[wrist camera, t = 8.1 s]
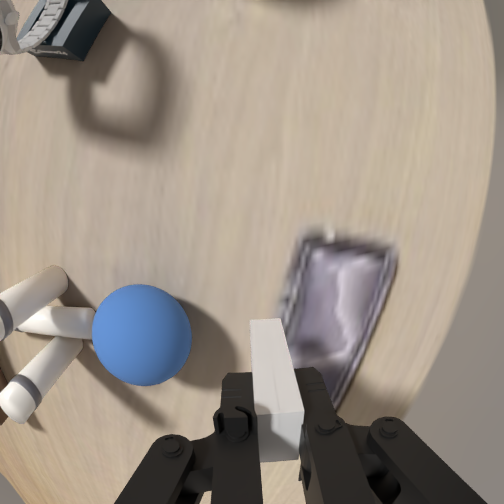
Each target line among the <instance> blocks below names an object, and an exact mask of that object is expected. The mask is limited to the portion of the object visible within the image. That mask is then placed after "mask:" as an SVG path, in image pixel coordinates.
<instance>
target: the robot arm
mask: <svg viewBox="0 0 504 504" xmlns="http://www.w3.org/2000/svg"><path fill="white" fill-rule="evenodd" d="M250 343H251V368H252V372H245V373H228V374H227V375H226V376H225V378H224V379H223V381H222V392H221V405H220V408H219V409H218V410H217V411H216V412H215V414H214V416H213V421H214V427H215V432H214V433H213V434H211V435H210V436H208V437H205V438H202V439H198V440H193V441H189V440H188V439H187V438H186V437H183V436H181V435H175V434H170V435H164V436H162V437H160V438H158V439H157V440H156V441H155V442H154V443H153V444H152V446H151V447H150V449H149V451H148V452H147V454H146V455H145V457H144V458H143V460H142V461H141V463H140V465H139V466H138V468H137V469H136V471H135V472H134V474H133V475H132V477H131V478H130V480H129V482H128V483H127V485H126V486H125V488H124V489H123V491H122V492H121V494H120V495H119V497H118V498H117V500H116V501H115V503H114V504H199V503H200V501H201V499H202V496H203V494H204V492H206V491H211V490H212V493H211V504H263V496H262V483H261V470H260V462H276V461H287V460H297V459H298V458H299V454H300V459H301V466H300V472H299V480H298V481H301V480H302V484H303V489H304V495H305V500H306V504H487V503H486V502H485V501H484V500H483V499H482V498H481V497H480V496H479V495H478V494H477V493H476V492H475V491H474V490H473V489H472V488H471V487H470V486H469V485H467V483H465V482H464V481H463V480H462V479H461V478H460V477H459V476H458V475H457V474H456V473H455V472H454V471H453V470H452V469H451V468H450V467H449V466H448V465H447V464H446V463H445V462H444V461H443V460H442V459H441V458H440V457H439V456H438V455H437V454H436V453H435V452H434V451H433V450H432V449H430V447H428V446H427V445H426V444H425V443H424V442H423V441H422V440H421V439H420V438H419V437H418V436H417V435H416V434H415V433H414V432H413V431H412V430H411V429H410V428H409V427H408V426H407V425H406V424H405V423H404V422H403V421H401V420H400V419H398V418H394V417H382V418H378V419H377V420H375V421H374V422H373V423H372V425H371V426H354V425H350V424H347V423H345V422H344V420H343V419H342V418H340V417H339V416H337V415H336V413H335V410H334V407H333V405H332V402H331V399H330V397H329V394H328V391H327V390H326V386H325V384H324V381H323V378H322V376H321V374H320V373H319V372H318V371H317V370H316V369H315V368H314V367H310V368H299V369H293V365H292V361H291V357H290V353H289V350H288V346H287V342H286V338H285V334H284V331H283V327H282V323H281V319H280V318H277V319H256V320H250Z"/></svg>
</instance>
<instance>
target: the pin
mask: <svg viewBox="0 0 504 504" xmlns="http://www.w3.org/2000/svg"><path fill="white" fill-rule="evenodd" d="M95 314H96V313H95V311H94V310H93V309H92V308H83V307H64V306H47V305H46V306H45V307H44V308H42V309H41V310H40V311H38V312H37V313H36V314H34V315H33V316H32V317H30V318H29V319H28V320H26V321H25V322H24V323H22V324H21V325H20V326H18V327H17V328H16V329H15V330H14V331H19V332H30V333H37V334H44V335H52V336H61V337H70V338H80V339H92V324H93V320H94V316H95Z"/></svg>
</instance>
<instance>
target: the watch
mask: <svg viewBox="0 0 504 504" xmlns="http://www.w3.org/2000/svg"><path fill="white" fill-rule="evenodd" d="M110 14H111V12H110V10H109V9H108V8H107V7H106V5H105V4H104V3H103V2H102V0H39V2H38V3H37V5H36V6H35V8H34V9H33V11H32V12H31V14H30V16H29V17H28V19H27V21H26V22H25V24H24V26H23V28H22V29H21V31H20V33H19V35H18V37H17V39H16V32H17V26H18V20H19V16H20V15H19V12H18V11H16V10H15V7H14V5H13V3H12V1H11V0H0V54H9V55H15V54H21V53H25V52H28V53H30V54H32V55H34V56H39V57H52V58H62V59H71V60H79V61H84V59H85V57H86V55H87V53H88V51H89V49H90V48H91V46H92V44H93V42H94V40H95V39H96V37H97V35H98V33H99V32H100V30H101V28H102V27H103V25H104V23H105V22H106V20H107V18H108V17H109V15H110Z"/></svg>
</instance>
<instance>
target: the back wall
mask: <svg viewBox="0 0 504 504" xmlns="http://www.w3.org/2000/svg"><path fill="white" fill-rule="evenodd" d="M7 385H8V384H7V382H6V379H5V377H4V375H3V373H2V370H1V368H0V393H1V392H2V391H3V389H4V388H5V387H6V386H7ZM7 418H8V415H7V414H6V413H5V412H4V411H3V409H2V408H1V406H0V425H2V424H3V423H4V421H5V420H6V419H7Z"/></svg>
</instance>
